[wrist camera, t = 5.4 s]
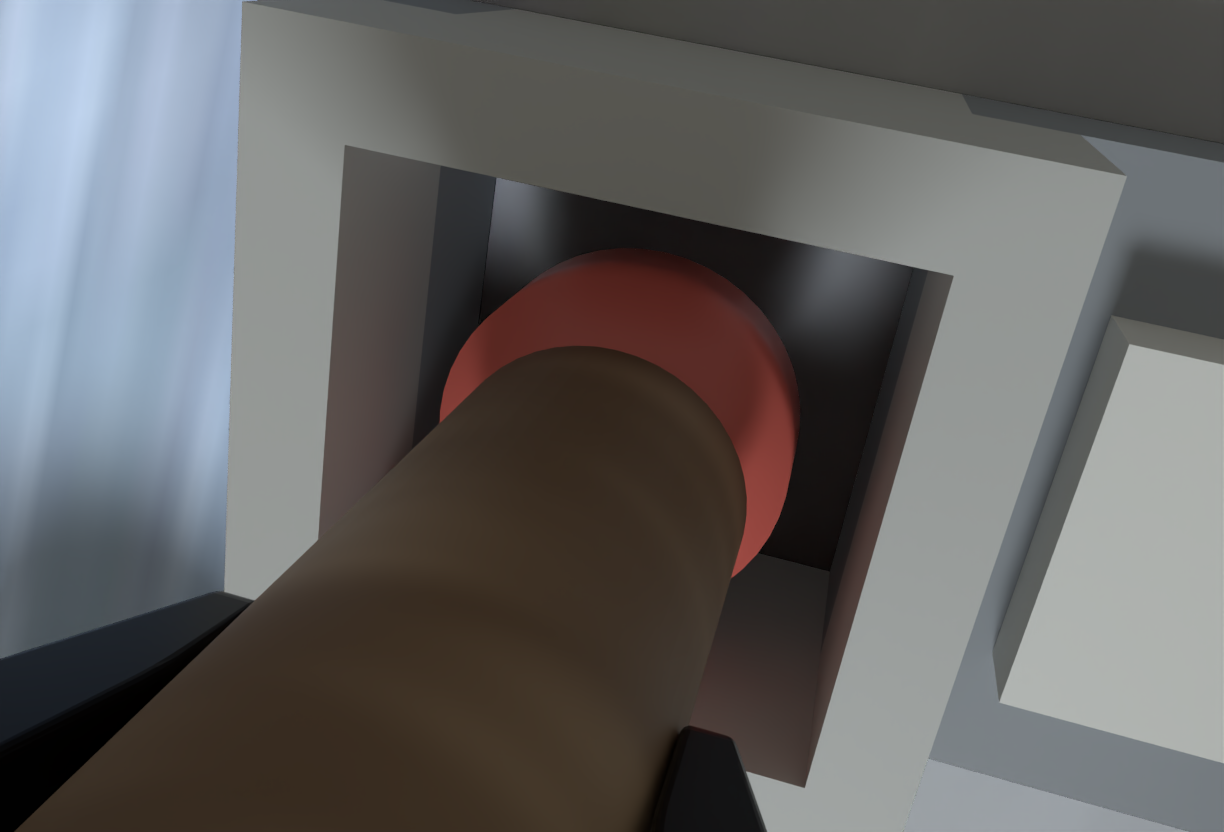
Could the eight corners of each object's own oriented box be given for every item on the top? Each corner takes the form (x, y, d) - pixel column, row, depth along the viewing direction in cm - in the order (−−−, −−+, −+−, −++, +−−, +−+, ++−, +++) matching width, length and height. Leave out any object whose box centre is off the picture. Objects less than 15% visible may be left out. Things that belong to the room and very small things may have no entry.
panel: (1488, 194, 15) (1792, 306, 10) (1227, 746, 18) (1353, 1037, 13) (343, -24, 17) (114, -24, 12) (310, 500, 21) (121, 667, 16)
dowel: (777, 388, 12) (360, 1761, 3) (712, 664, 13) (289, 2194, 4) (460, 313, 12) (-772, 1251, 3) (430, 586, 14) (-500, 1782, 5)
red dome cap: (839, 270, 15) (829, 323, 13) (768, 557, 17) (747, 648, 14) (522, 202, 16) (458, 239, 13) (485, 484, 17) (423, 560, 15)
